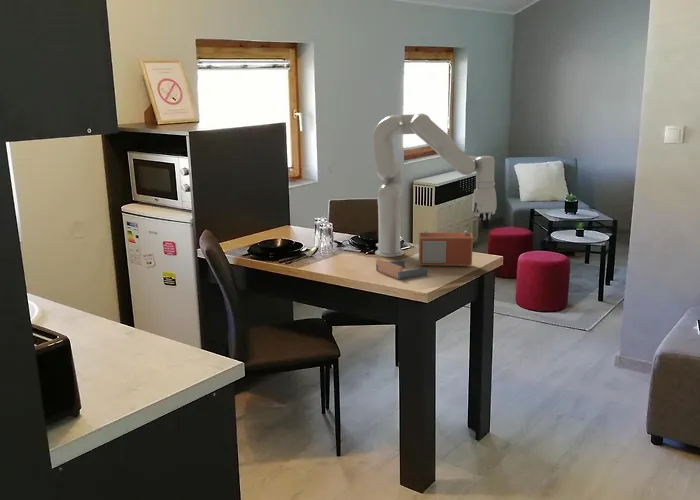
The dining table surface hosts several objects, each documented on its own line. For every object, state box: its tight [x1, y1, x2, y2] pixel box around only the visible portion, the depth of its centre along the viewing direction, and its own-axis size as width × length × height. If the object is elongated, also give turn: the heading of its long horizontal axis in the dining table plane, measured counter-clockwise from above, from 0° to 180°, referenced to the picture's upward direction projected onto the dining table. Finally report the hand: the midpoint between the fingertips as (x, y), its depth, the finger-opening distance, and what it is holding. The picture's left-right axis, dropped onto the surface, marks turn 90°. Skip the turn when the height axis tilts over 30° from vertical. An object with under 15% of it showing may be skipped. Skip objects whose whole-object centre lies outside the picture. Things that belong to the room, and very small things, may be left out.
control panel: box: [418, 229, 474, 266], centre depth 268 cm, size 21×7×15 cm, turn 85°
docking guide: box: [375, 258, 428, 281], centre depth 260 cm, size 16×13×5 cm
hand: (484, 228), depth 279 cm, fingers closed
